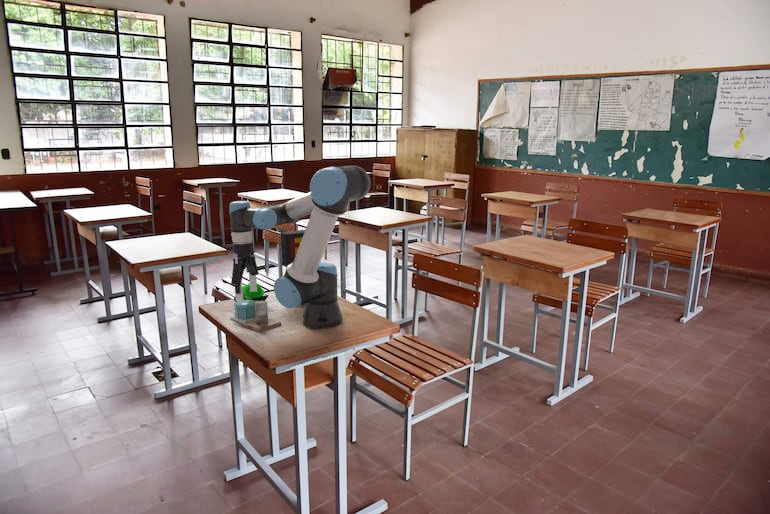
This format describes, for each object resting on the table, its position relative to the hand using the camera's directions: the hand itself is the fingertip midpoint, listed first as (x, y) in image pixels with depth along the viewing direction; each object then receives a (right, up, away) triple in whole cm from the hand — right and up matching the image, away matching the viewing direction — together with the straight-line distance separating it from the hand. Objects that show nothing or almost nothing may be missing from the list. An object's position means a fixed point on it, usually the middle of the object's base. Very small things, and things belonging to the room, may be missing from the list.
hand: (246, 296), depth 208 cm
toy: (-3, -5, +18) cm, 19 cm away
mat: (0, -9, +2) cm, 9 cm away
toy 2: (+17, -4, +25) cm, 31 cm away
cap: (-1, -8, +2) cm, 8 cm away
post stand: (+7, -11, -5) cm, 14 cm away
